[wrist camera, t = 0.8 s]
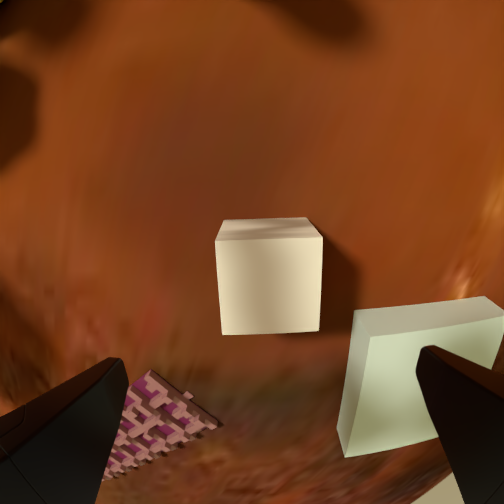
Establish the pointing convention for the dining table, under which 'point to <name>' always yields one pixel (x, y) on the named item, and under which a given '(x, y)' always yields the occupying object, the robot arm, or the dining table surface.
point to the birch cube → (269, 276)
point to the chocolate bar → (154, 423)
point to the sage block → (406, 367)
